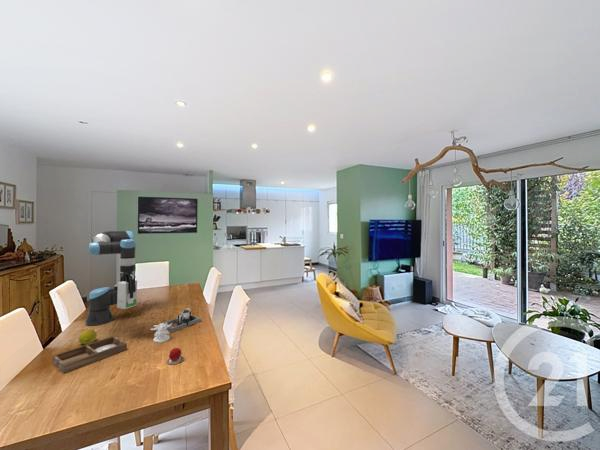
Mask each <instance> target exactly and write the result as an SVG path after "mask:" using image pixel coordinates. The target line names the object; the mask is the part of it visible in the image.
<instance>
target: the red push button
mask: <svg viewBox="0 0 600 450" xmlns="http://www.w3.org/2000/svg"><path fill="white" fill-rule="evenodd" d="M183 360H185V359H184V356H183V355H182V350H181V349H180V348H179V347H174V348H172V349H171V350H170V351H169V355H168V359H167V360H166V362H165V363H166V364H168V365H175V364H179V363H181V362H183Z"/></svg>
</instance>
